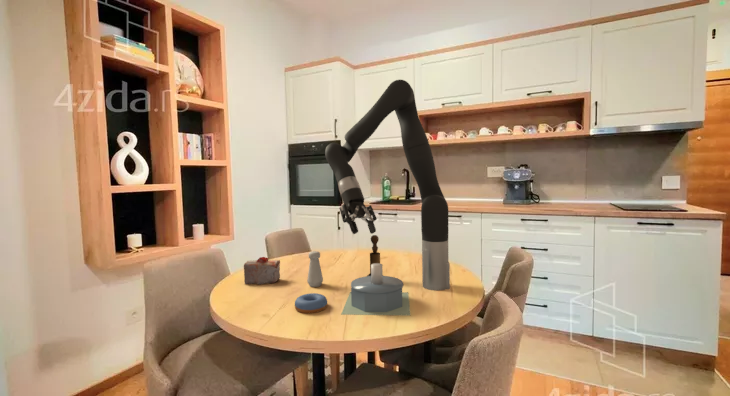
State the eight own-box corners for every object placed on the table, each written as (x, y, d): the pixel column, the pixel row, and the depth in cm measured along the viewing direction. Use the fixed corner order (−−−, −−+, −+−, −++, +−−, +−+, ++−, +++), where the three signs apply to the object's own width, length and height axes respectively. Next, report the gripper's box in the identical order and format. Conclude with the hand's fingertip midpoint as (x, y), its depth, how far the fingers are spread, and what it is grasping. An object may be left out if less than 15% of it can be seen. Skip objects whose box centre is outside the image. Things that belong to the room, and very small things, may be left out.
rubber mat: (408, 293, 118) (408, 292, 118) (410, 316, 99) (410, 315, 99) (350, 292, 120) (350, 291, 120) (341, 315, 100) (341, 314, 100)
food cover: (402, 294, 117) (402, 258, 116) (404, 312, 101) (403, 271, 100) (354, 293, 118) (353, 258, 118) (348, 312, 102) (347, 271, 101)
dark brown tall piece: (386, 280, 134) (385, 234, 133) (381, 285, 128) (380, 237, 127) (369, 278, 137) (369, 233, 136) (364, 283, 131) (363, 236, 130)
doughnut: (312, 317, 99) (312, 301, 100) (287, 312, 105) (287, 297, 105) (334, 309, 108) (333, 294, 108) (309, 305, 113) (309, 291, 113)
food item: (282, 278, 140) (281, 254, 139) (278, 284, 132) (277, 259, 131) (248, 279, 139) (247, 255, 139) (242, 285, 131) (241, 260, 131)
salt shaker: (324, 284, 131) (323, 250, 130) (321, 288, 125) (320, 253, 125) (309, 283, 132) (308, 250, 131) (305, 288, 126) (304, 253, 125)
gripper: (342, 185, 117) (356, 228, 111) (371, 188, 127) (386, 227, 121) (329, 195, 122) (342, 238, 116) (358, 198, 132) (372, 236, 126)
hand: (364, 232), depth 119 cm, fingers open, 8 cm apart
